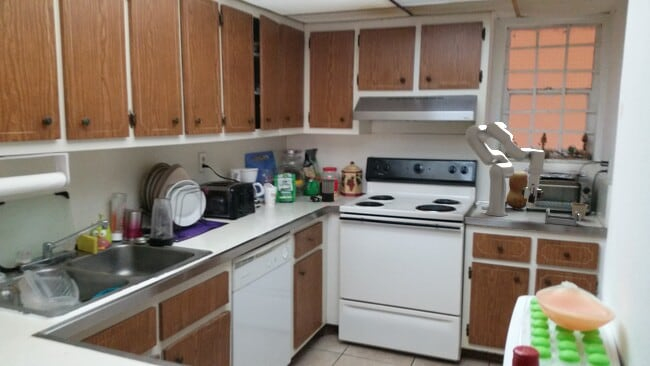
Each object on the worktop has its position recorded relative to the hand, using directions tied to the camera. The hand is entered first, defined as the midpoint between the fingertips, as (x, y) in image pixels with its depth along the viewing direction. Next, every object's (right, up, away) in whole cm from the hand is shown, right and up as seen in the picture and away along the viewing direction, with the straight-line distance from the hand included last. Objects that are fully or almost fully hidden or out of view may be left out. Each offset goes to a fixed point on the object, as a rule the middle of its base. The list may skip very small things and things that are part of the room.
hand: (531, 201), depth 300 cm
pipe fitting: (+15, -12, -5) cm, 20 cm away
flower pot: (+31, -11, +9) cm, 34 cm away
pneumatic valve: (0, -3, +1) cm, 3 cm away
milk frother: (-123, -2, +57) cm, 136 cm away
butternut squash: (+5, -7, +38) cm, 38 cm away
